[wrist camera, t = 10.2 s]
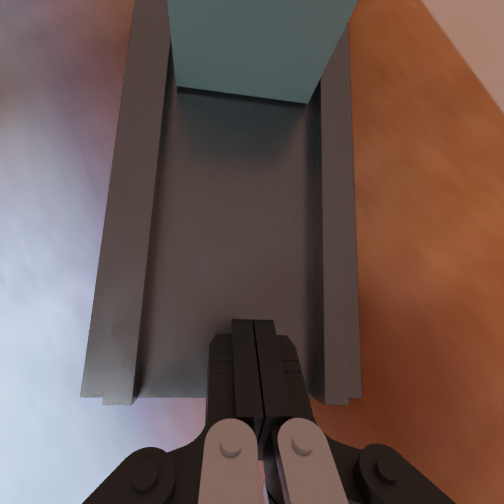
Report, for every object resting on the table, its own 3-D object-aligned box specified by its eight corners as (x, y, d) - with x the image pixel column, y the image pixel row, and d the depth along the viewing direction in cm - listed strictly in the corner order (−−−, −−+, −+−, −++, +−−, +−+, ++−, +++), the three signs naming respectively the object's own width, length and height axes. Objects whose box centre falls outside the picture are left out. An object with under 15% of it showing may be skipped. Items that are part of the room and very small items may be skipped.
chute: (84, 394, 16) (67, 405, 14) (145, -53, 22) (139, -91, 20) (356, 395, 18) (376, 405, 16) (343, -15, 24) (356, -46, 22)
